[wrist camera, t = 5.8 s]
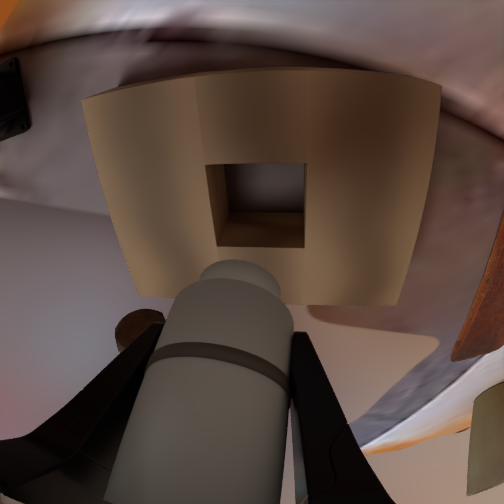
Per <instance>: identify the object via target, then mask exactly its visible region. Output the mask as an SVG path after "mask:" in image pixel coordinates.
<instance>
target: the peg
mask: <svg viewBox="0 0 504 504" xmlns="http://www.w3.org/2000/svg"><path fill="white" fill-rule="evenodd" d="M280 299H281V290H280V286H279V284H278V282H277V280H276V279H275V277H274V276H273V275H272V274H271V273H270V272H268V271H267V270H266V269H264V268H263V267H261V266H259V265H257V264H255V263H252V262H249V261H244V260H237V259H229V260H222V261H218V262H216V263H213V264H211V265H210V266H208V267H207V268H206V269H205V270H204V271H203V272H202V274H201V275H200V277H199V280H198V282H195V283H192V284H190V285H189V286H187V287H185V288H184V289H183V290H181V291H180V293H179V294H178V295H177V297H176V298H175V300H174V303H173V305H172V308H171V310H170V312H169V315H168V318H167V320H166V322H165V325H164V327H163V330H162V332H161V335H160V337H159V340H158V342H157V345H156V347H155V350H154V352H153V353H152V355H151V356H150V358H149V360H148V363H147V366H146V368H145V371H144V379H143V382H142V384H141V387H140V390H139V392H138V395H137V398H136V401H135V404H134V406H133V409H132V412H131V415H130V418H129V421H128V423H127V426H126V429H125V432H124V435H123V438H122V441H121V444H120V447H119V450H118V453H117V456H116V459H115V462H114V465H113V469H112V472H111V475H110V478H109V481H108V485H107V488H106V491H105V495H104V498H103V500H105V501H108V502H110V503H112V504H280V498H281V490H282V480H283V470H284V460H285V450H286V439H287V427H288V413H289V408H290V406H291V399H292V385H291V365H292V345H293V333H294V322H293V318H292V315H291V313H290V311H289V310H288V308H287V307H286V305H285V304H284V303H283V302H282V301H281V300H280Z"/></svg>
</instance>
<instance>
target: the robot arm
mask: <svg viewBox="0 0 504 504" xmlns="http://www.w3.org/2000/svg"><path fill="white" fill-rule="evenodd" d="M24 125H25V127H24ZM29 128H30V123H29V118H28V114H27V109H26V104H25V99H24V94H23V88H22V83H21V76H20V70H19V62H18V59H17V58H16V57H15V58H11V59H9V60H7V61H6V62H4V63H3V64H1V65H0V141H3V140H5V139H8V138H10V137H13V136H16V135H19V134H21V133H24V132H26V131H28V130H29ZM164 325H165V323H159V322H153V323H152V324H151V325H150V326H148V327H147V328H146V329H145V330H144V331H143V332H142V333H141V334H140V335H139V336H138V337H137V338H136V339H135V340H134V341H133V342H131V343H130V344H129V345H128V346H127V347H126V348H125V349H124V350H123V351H122V352H121V353H120V354H119V355H118V356H117V357H116V358H115V359H114V360H113V361H111V363H109V364H108V365H107V366H106V367H105V368H104V369H103V370H102V371H101V372H100V373H99V374H98V375H97V376H96V377H95V378H94V379H93V380H92V381H91V382H90V383H89V384H87V385H86V386H85V387H84V388H83V390H81V391H80V392H79V393H78V394H77V395H76V396H75V397H74V398H73V399H72V400H71V401H69V403H67V404H66V405H65V406H64V407H63V408H61V409H60V410H59V411H58V412H57V413H55V414H54V415H53V416H52V417H50V418H49V419H48V420H46V421H45V422H44V423H43V424H41V425H40V426H39V427H38V428H36V429H35V430H34V431H32V432H31V433H29V434H27V435H25V436H22V437H19V438H13V439H6V440H0V504H112V503H110V502H108V501H105V500H103V498H104V495H105V491H106V488H107V485H108V481H109V478H110V475H111V472H112V469H113V465H114V462H115V459H116V456H117V453H118V450H119V447H120V444H121V441H122V438H123V435H124V432H125V429H126V426H127V423H128V421H129V418H130V415H131V412H132V409H133V406H134V404H135V401H136V398H137V395H138V392H139V390H140V387H141V384H142V382H143V379H144V371H145V368H146V366H147V363H148V360H149V358H150V356H151V355H152V353H153V352H154V350H155V347H156V345H157V342H158V340H159V337H160V335H161V332H162V330H163V327H164ZM291 385H292V399H291V406H290V411H291V427H292V443H293V460H294V478H295V499H296V504H396V503H395V502H394V501H393V500H392V499H391V497H390V496H389V495H388V493H387V492H386V490H385V489H384V487H383V485H382V484H381V482H380V481H379V479H378V478H377V476H376V474H375V473H374V471H373V470H372V468H371V466H370V465H369V464H368V462H367V460H366V458H365V456H364V455H363V453H362V451H361V449H360V448H359V446H358V443H357V441H356V439H355V437H354V435H353V433H352V431H351V429H350V426H349V424H347V420H346V418H345V415H344V413H343V411H342V409H341V406H340V404H339V402H338V400H337V397H336V395H335V393H334V391H333V388H332V386H331V384H330V382H329V380H328V378H327V375H326V373H325V371H324V369H323V366H322V364H321V362H320V360H319V358H318V355H317V353H316V351H315V349H314V347H313V344H312V342H311V340H310V338H309V336H308V334H307V333H306V332H298V331H297V332H296V331H295V332H294V333H293V345H292V365H291Z"/></svg>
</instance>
